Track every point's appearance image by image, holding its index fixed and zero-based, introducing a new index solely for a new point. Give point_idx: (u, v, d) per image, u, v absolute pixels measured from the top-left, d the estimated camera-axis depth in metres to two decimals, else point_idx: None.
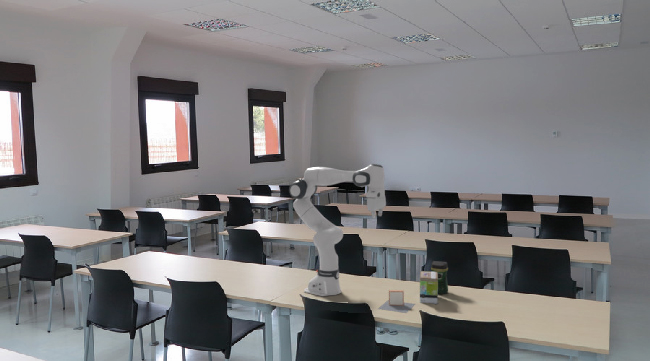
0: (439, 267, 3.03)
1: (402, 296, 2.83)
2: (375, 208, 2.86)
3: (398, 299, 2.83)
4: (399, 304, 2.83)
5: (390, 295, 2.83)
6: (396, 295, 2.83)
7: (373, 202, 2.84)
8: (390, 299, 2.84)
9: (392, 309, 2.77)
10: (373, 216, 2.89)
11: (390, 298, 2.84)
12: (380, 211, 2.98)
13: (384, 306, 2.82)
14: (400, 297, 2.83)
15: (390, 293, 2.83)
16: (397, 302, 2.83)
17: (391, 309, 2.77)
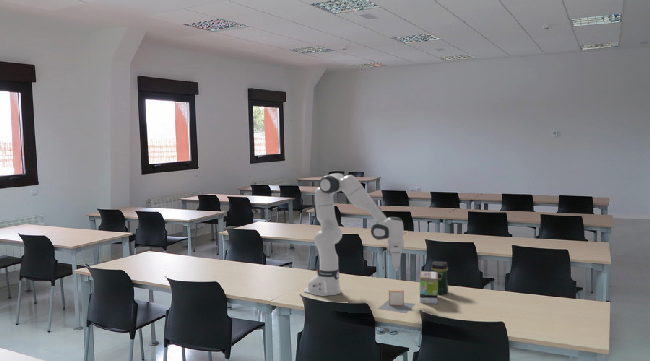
0: (439, 267, 3.03)
1: (402, 296, 2.83)
2: None
3: (398, 299, 2.83)
4: (399, 304, 2.83)
5: (390, 295, 2.83)
6: (396, 295, 2.83)
7: (399, 257, 2.78)
8: (390, 299, 2.84)
9: (392, 309, 2.77)
10: (396, 269, 2.87)
11: (390, 298, 2.84)
12: None
13: (384, 306, 2.82)
14: (400, 297, 2.83)
15: (390, 293, 2.83)
16: (397, 302, 2.83)
17: (391, 309, 2.77)
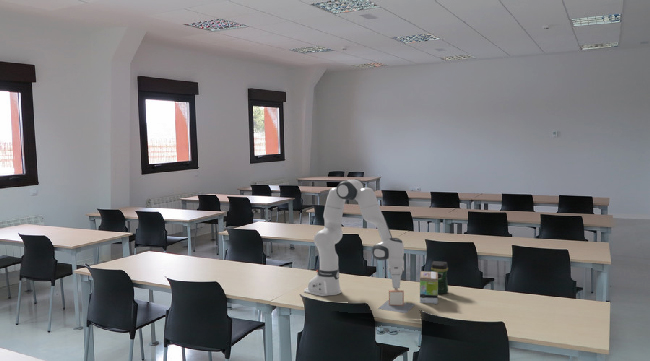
0: (439, 267, 3.03)
1: (402, 296, 2.83)
2: None
3: (398, 299, 2.83)
4: (399, 304, 2.83)
5: (390, 295, 2.83)
6: (396, 295, 2.83)
7: (399, 279, 2.79)
8: (390, 299, 2.84)
9: (392, 309, 2.77)
10: None
11: (390, 298, 2.84)
12: None
13: (384, 306, 2.82)
14: (400, 297, 2.83)
15: (390, 293, 2.83)
16: (397, 302, 2.83)
17: (391, 309, 2.77)
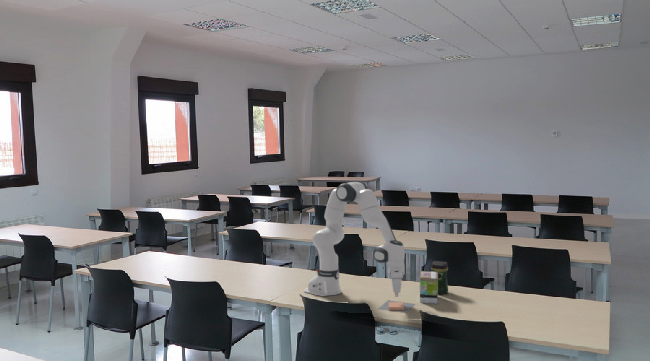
0: (439, 267, 3.03)
1: None
2: None
3: None
4: None
5: None
6: None
7: (400, 283, 2.71)
8: None
9: None
10: (396, 294, 2.80)
11: None
12: None
13: (384, 306, 2.82)
14: None
15: None
16: None
17: None
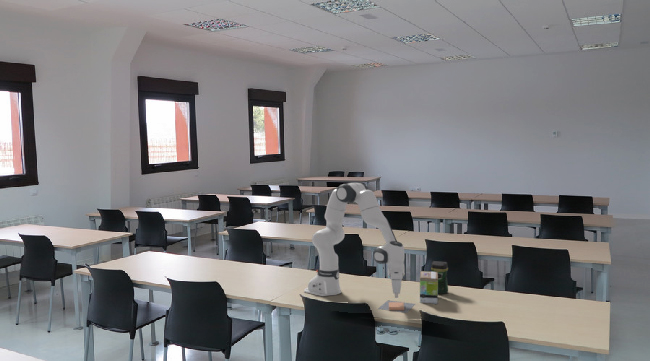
0: (439, 267, 3.03)
1: None
2: None
3: None
4: None
5: None
6: None
7: (399, 284, 2.69)
8: None
9: None
10: (396, 295, 2.78)
11: None
12: None
13: (384, 306, 2.82)
14: None
15: None
16: None
17: None
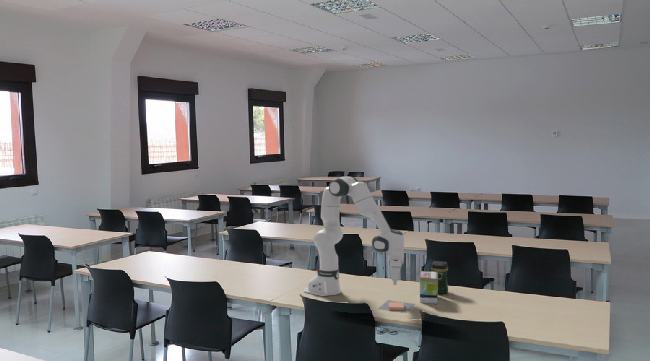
0: (439, 267, 3.03)
1: None
2: None
3: None
4: None
5: None
6: None
7: (398, 272, 2.76)
8: None
9: None
10: (394, 282, 2.85)
11: None
12: None
13: (384, 306, 2.82)
14: None
15: None
16: None
17: None
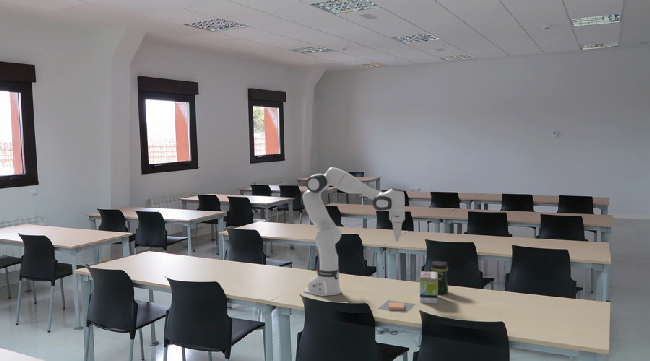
0: (439, 267, 3.03)
1: None
2: None
3: None
4: None
5: None
6: None
7: (400, 227, 2.87)
8: None
9: None
10: (397, 239, 2.96)
11: None
12: None
13: (384, 306, 2.82)
14: None
15: None
16: None
17: None
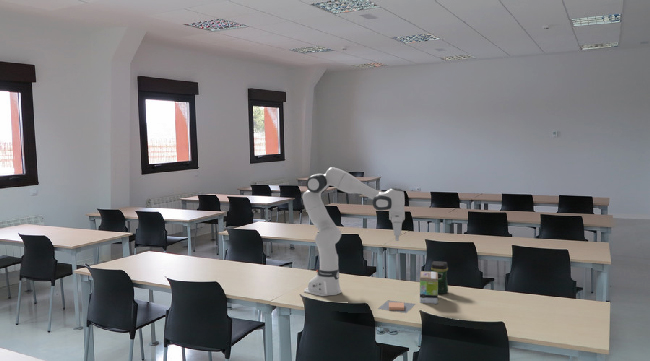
0: (439, 267, 3.03)
1: None
2: None
3: None
4: None
5: None
6: None
7: (400, 226, 2.88)
8: None
9: None
10: (397, 238, 2.97)
11: None
12: None
13: (384, 306, 2.82)
14: None
15: None
16: None
17: None
